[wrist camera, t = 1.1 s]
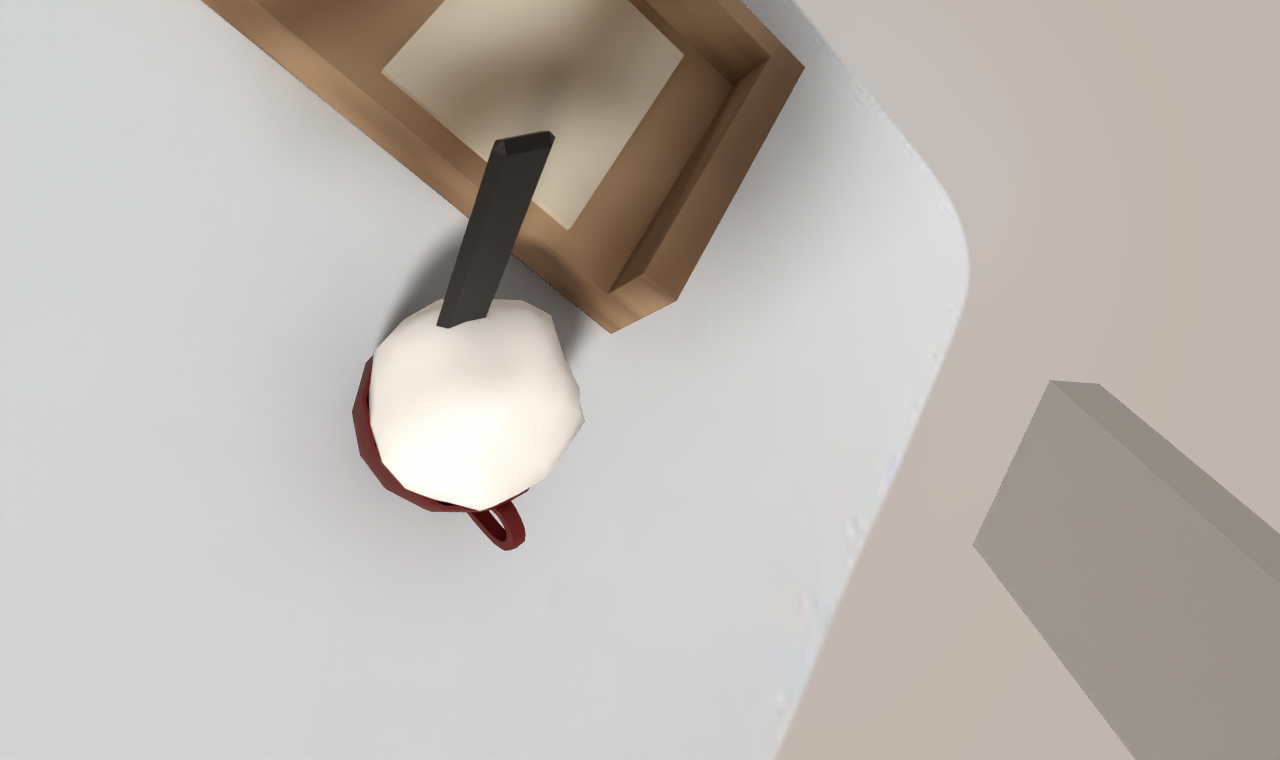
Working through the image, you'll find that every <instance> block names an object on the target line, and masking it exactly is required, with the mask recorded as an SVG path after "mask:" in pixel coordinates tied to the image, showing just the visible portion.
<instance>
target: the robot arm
mask: <svg viewBox="0 0 1280 760" xmlns="http://www.w3.org/2000/svg"><path fill="white" fill-rule="evenodd" d="M973 546H974V547H975V549H976V550H977V551H978V552H979V554H980V555H981V557H982V558H983V559H984V560H985V562H986V563H987V564H988V566H989V567H990V568H991V570H992V571H993V572H994V574H995V575H996V576H997V578H998V579H999V580H1000V581H1001V583H1002V584H1003V585H1004V587H1005V588H1006V589H1007V591H1008V592H1009V593H1010V595H1011V596H1012V597H1013V599H1014V600H1015V601H1016V603H1017V604H1018V605H1019V607H1020V608H1021V609H1022V611H1023V612H1024V613H1025V614H1026V616H1027V617H1028V618H1029V620H1030V621H1031V622H1032V624H1033V625H1034V626H1035V628H1036V629H1037V630H1038V631H1039V633H1040V634H1041V635H1042V637H1043V638H1044V639H1045V640H1046V642H1047V643H1048V645H1049V646H1050V647H1051V649H1052V650H1053V651H1054V652H1055V654H1056V655H1057V656H1058V658H1059V659H1060V660H1061V662H1062V663H1063V665H1064V666H1065V667H1066V668H1067V670H1068V671H1069V672H1070V674H1071V675H1072V676H1073V678H1074V679H1075V680H1076V682H1077V683H1078V684H1079V686H1080V687H1081V688H1082V690H1083V691H1084V692H1085V693H1086V695H1087V696H1088V697H1089V699H1090V700H1091V701H1092V703H1093V704H1094V705H1095V707H1096V708H1097V709H1098V710H1099V712H1100V713H1101V715H1102V716H1103V717H1104V719H1105V720H1106V721H1107V722H1108V724H1109V725H1110V726H1111V728H1112V729H1113V730H1114V732H1115V733H1116V734H1117V736H1118V737H1119V738H1120V740H1121V741H1122V742H1123V744H1124V745H1125V746H1126V747H1127V748H1128V750H1129V751H1130V753H1131V754H1132V755H1133V757H1134V758H1135V759H1136V760H1280V534H1279V533H1278V532H1277V531H1276V530H1274V529H1273V528H1272V527H1271V526H1270V525H1268V524H1267V523H1266V522H1265V521H1263V520H1262V519H1261V518H1260V517H1259V516H1257V515H1256V514H1255V513H1254V512H1253V511H1251V510H1250V509H1249V508H1248V507H1247V506H1245V505H1244V504H1243V503H1242V502H1241V501H1239V500H1238V499H1237V498H1236V497H1235V496H1233V495H1232V494H1231V493H1230V492H1229V491H1227V490H1226V489H1225V488H1224V487H1222V486H1221V485H1220V484H1219V483H1218V482H1217V481H1215V480H1214V479H1213V478H1212V477H1211V476H1209V475H1208V474H1207V473H1206V472H1204V471H1203V470H1202V469H1201V468H1200V467H1198V466H1197V465H1196V464H1195V463H1193V462H1192V461H1191V460H1190V459H1189V458H1188V457H1186V456H1185V455H1184V454H1183V453H1182V452H1180V451H1179V450H1178V449H1177V448H1176V447H1174V446H1173V445H1172V444H1171V443H1170V442H1168V441H1167V440H1166V439H1165V438H1163V437H1162V436H1161V435H1160V434H1159V433H1158V432H1156V431H1155V430H1154V429H1153V428H1151V427H1150V426H1149V425H1148V424H1147V423H1145V422H1144V421H1143V420H1142V419H1141V418H1139V417H1138V416H1137V415H1136V414H1134V413H1133V412H1132V411H1131V410H1130V409H1129V408H1127V407H1126V406H1125V405H1124V404H1122V403H1121V402H1120V401H1119V400H1118V399H1117V398H1115V397H1114V396H1113V395H1112V394H1110V393H1109V392H1108V391H1106V389H1104V388H1103V387H1102V386H1101V385H1100V384H1093V383H1077V382H1065V381H1051V380H1050V381H1049V383H1048V385H1047V387H1046V390H1045V392H1044V394H1043V396H1042V398H1041V400H1040V402H1039V405H1038V407H1037V409H1036V411H1035V413H1034V415H1033V417H1032V420H1031V422H1030V424H1029V426H1028V428H1027V430H1026V432H1025V434H1024V437H1023V439H1022V441H1021V443H1020V445H1019V447H1018V449H1017V452H1016V454H1015V456H1014V458H1013V460H1012V462H1011V464H1010V467H1009V469H1008V471H1007V473H1006V475H1005V477H1004V479H1003V481H1002V484H1001V486H1000V488H999V490H998V492H997V494H996V496H995V499H994V501H993V503H992V505H991V507H990V509H989V511H988V513H987V516H986V518H985V520H984V522H983V524H982V526H981V529H980V531H979V533H978V535H977V537H976V539H975V541H974V543H973Z"/></svg>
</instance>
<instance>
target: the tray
mask: <svg viewBox="0 0 1280 760" xmlns="http://www.w3.org/2000/svg"><path fill="white" fill-rule="evenodd" d="M202 1H203V2H204V3H205V4H206V5H208V6H209V7H210V8H211V9H213V10H214V11H215V12H216V13H218V14H219V15H220V16H221V17H222V18H224V19H225V20H226V21H227V22H229V23H230V24H231V25H232V26H233V27H235V28H236V29H237V30H238V31H240V32H241V33H242V34H243V35H245V36H246V37H247V38H248V39H249V40H251V41H252V42H253V43H254V44H256V45H257V46H258V47H259V48H261V49H262V50H263V51H264V52H265V53H267V54H268V55H269V56H270V57H272V58H273V59H274V60H275V61H276V62H278V63H279V64H280V65H281V66H283V67H284V68H285V69H286V70H288V71H289V72H290V73H291V74H292V75H294V76H295V77H296V78H297V79H299V80H300V81H301V82H302V83H303V84H305V85H306V86H307V87H308V88H310V89H311V90H312V91H313V92H315V93H316V94H317V95H318V96H319V97H321V98H322V99H323V100H324V101H326V102H327V103H328V104H329V105H330V106H332V107H333V108H334V109H335V110H337V111H338V112H339V113H340V114H342V115H343V116H344V117H345V118H346V119H348V120H349V121H350V122H351V123H353V124H354V125H355V126H356V127H358V128H359V129H360V130H361V131H362V132H364V133H365V134H366V135H367V136H369V137H370V138H371V139H372V140H373V141H375V142H376V143H377V144H378V145H380V146H381V147H382V148H383V149H385V150H386V151H387V152H388V153H389V154H391V155H392V156H393V157H394V158H396V159H397V160H398V161H399V162H400V163H402V164H403V165H404V166H405V167H407V168H408V169H409V170H410V171H412V172H413V173H414V174H415V175H416V176H418V177H419V178H420V179H421V180H423V181H424V182H425V183H426V184H427V185H429V186H430V187H431V188H432V189H434V190H435V191H436V192H437V193H439V194H440V195H441V196H442V197H443V198H445V199H446V200H447V201H448V202H450V203H451V204H452V205H453V206H455V207H456V208H457V209H458V210H459V211H461V212H462V213H463V214H464V215H466V216H467V217H468V218H469V219H470V216H471V213H472V210H473V207H474V203H475V200H476V197H477V194H478V191H479V188H480V184H481V181H482V178H483V175H484V172H485V169H486V165H487V162H488V159H489V156H490V153H491V150H492V147H493V145H494V142H495V140H498V139H503V138H508V137H513V136H518V135H523V134H529V133H534V132H539V131H550V132H551V133H552V134H553V135H554V136H555V140H554V143H553V145H552V148H551V151H550V153H549V156H548V158H547V161H546V163H545V166H544V169H543V171H542V174H541V176H540V179H539V182H538V184H537V187H536V189H535V192H534V194H533V197H532V200H531V202H530V205H529V207H528V210H527V213H526V215H525V218H524V220H523V223H522V225H521V228H520V231H519V233H518V236H517V238H516V241H515V244H514V246H513V249H512V251H511V253H512V254H513V255H515V256H516V257H517V258H518V259H520V260H521V261H522V262H523V263H525V264H526V265H527V266H528V267H529V268H531V269H532V270H533V271H534V272H536V273H537V274H538V275H539V276H540V277H542V278H543V279H544V280H545V281H547V282H548V283H549V284H550V285H552V286H553V287H554V288H555V289H556V290H558V291H559V292H560V293H561V294H563V295H564V296H565V297H566V298H567V299H569V300H570V301H571V302H572V303H574V304H575V305H576V306H577V307H579V308H580V309H581V310H582V311H583V312H585V313H586V314H587V315H588V316H590V317H591V318H592V319H593V320H594V321H596V322H597V323H598V324H599V325H601V326H602V327H603V328H604V329H606V330H607V331H608V332H609V333H610V334H612V333H614V332H616V331H618V330H620V329H622V328H624V327H626V326H628V325H630V324H632V323H634V322H636V321H638V320H640V319H641V318H643V317H645V316H647V315H649V314H651V313H653V312H655V311H657V310H659V309H661V308H663V307H665V306H667V305H669V304H671V303H673V302H675V301H677V299H678V297H679V295H680V293H681V291H682V290H683V288H684V286H685V284H686V282H687V281H688V279H689V277H690V275H691V273H692V271H693V270H694V268H695V266H696V264H697V262H698V261H699V259H700V257H701V255H702V253H703V251H704V250H705V248H706V246H707V244H708V242H709V241H710V239H711V237H712V235H713V233H714V231H715V230H716V228H717V226H718V224H719V222H720V221H721V219H722V217H723V215H724V213H725V211H726V210H727V208H728V206H729V204H730V202H731V201H732V199H733V197H734V195H735V193H736V192H737V190H738V188H739V186H740V184H741V182H742V181H743V179H744V177H745V175H746V173H747V172H748V170H749V168H750V166H751V164H752V162H753V161H754V159H755V157H756V155H757V153H758V152H759V150H760V148H761V146H762V144H763V142H764V141H765V139H766V137H767V135H768V133H769V132H770V130H771V128H772V126H773V124H774V122H775V121H776V119H777V117H778V115H779V113H780V112H781V110H782V108H783V106H784V104H785V102H786V101H787V99H788V97H789V95H790V93H791V92H792V90H793V88H794V86H795V84H796V82H797V81H798V79H799V77H800V75H801V73H802V72H803V70H804V68H805V67H804V66H803V65H802V64H801V63H800V62H799V61H798V60H797V59H796V58H795V57H794V55H793V54H792V53H791V52H790V51H789V50H788V49H787V48H786V47H785V46H784V45H783V44H782V43H781V42H780V41H779V40H778V39H777V38H776V37H775V36H774V35H773V34H772V33H771V32H770V31H769V30H768V29H767V28H766V27H765V26H764V25H763V24H762V22H761V21H760V20H759V19H758V18H757V17H756V16H755V15H754V14H753V13H752V12H751V11H750V10H749V9H748V8H747V7H746V6H745V5H744V4H743V3H742V2H741V1H740V0H202Z"/></svg>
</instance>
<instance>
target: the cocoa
mask: <svg viewBox="0 0 1280 760" xmlns="http://www.w3.org/2000/svg"><path fill="white" fill-rule="evenodd" d="M554 140H555V136H554V135H553V134H552V133H551V132H550V131H539V132H534V133H529V134H523V135H518V136H513V137H508V138H503V139H498V140H495V142H494V145H493V147H492V150H491V153H490V156H489V159H488V162H487V165H486V169H485V172H484V175H483V178H482V181H481V184H480V188H479V191H478V194H477V197H476V200H475V203H474V207H473V210H472V213H471V216H470V219H469V222H468V226H467V229H466V232H465V235H464V238H463V241H462V245H461V248H460V251H459V254H458V257H457V261H456V264H455V267H454V270H453V273H452V276H451V280H450V283H449V286H448V289H447V292H446V295H445V299H439V300H437V301H435V302H434V303H432V304H430V305H428V306H427V307H425V308H423V309H421V310H420V311H418V312H416V313H414V314H413V315H411V316H409V317H407V318H406V319H404V320H403V321H402V322H401V323H400V324H399V325H398V326H397V327H396V328H395V330H394V331H393V332H392V333H391V334H390V335H389V336H388V337H387V338H386V339H385V340H384V341H383V342H382V344H381V345H380V346H379V347H378V348H377V349H376V350H375V351H374V355H373V356H372V357H371V358H370V359H369V360H368V361H367V362H366V364H365V368H364V371H363V375H362V378H361V382H360V385H359V389H358V393H357V396H356V400H355V403H354V407H353V410H352V415H353V421H354V426H355V431H356V436H357V441H358V447H359V452H360V456H361V457H362V458H363V460H364V461H365V462H366V464H367V465H368V466H369V468H370V469H371V470H372V472H373V473H374V474H375V476H376V477H377V478H378V480H379V481H380V482H381V484H382V485H383V486H384V487H385V488H386V489H387V490H389V491H391V492H393V493H395V494H397V495H398V496H400V497H402V498H404V499H406V500H408V501H410V502H412V503H414V504H416V505H418V506H420V507H421V508H423V509H426V510H429V511H431V512H467V513H468V514H469V516H470V517H471V518H472V520H473V521H474V522H475V523H476V525H477V526H478V527H479V528H480V529H481V530H482V531H483V532H484V534H485V535H486V536H487V537H488V538H489V539H490V540H491V541H492V542H493V543H494V544H495V545H497V546H498V547H500V548H501V549H503V550H504V551H507V550H512V549H515V548H517V547H518V546H519V545H521V544H522V543H523V542H524V541H525V535H526V534H525V528H524V525H523V522H522V520H521V518H520V516H519V514H518V512H517V510H516V508H515V506H514V505H513V503H512V502H511V500H513V499H515V498H516V497H518V496H520V495H522V494H523V493H525V492H527V491H528V490H529V488H530V487H531V486H533V485H534V484H536V483H538V482H539V481H541V480H543V479H544V478H546V476H547V475H548V474H549V472H550V471H551V470H552V468H553V467H554V466H555V464H556V463H557V462H558V460H559V459H560V458H561V456H562V455H563V454H564V452H565V450H566V449H567V447H568V446H569V444H570V443H571V441H572V440H573V438H574V437H575V435H576V434H577V432H578V431H579V429H580V428H581V426H582V425H583V423H584V422H585V420H584V416H583V413H582V409H581V405H580V402H579V386H578V384H577V382H576V380H575V378H574V376H573V374H572V372H571V370H570V368H569V366H568V364H567V363H566V361H565V358H564V355H563V352H562V349H561V346H560V343H559V339H558V336H557V333H556V330H555V327H554V323H553V320H552V317H551V315H550V314H548V313H546V312H544V311H542V310H540V309H538V308H536V307H535V306H533V305H531V304H529V303H527V302H525V301H523V300H504V299H493V298H494V295H495V293H496V290H497V287H498V285H499V282H500V280H501V277H502V275H503V272H504V269H505V267H506V264H507V262H508V259H509V256H510V254H511V251H512V249H513V246H514V244H515V241H516V238H517V236H518V233H519V231H520V228H521V225H522V223H523V220H524V218H525V215H526V213H527V210H528V207H529V205H530V202H531V200H532V197H533V194H534V192H535V189H536V187H537V184H538V182H539V179H540V176H541V174H542V171H543V169H544V166H545V163H546V161H547V158H548V156H549V153H550V151H551V148H552V145H553V143H554ZM489 510H492V511H493V512H494V513H495V514H496V515H497V516H498V518H499V519H500V521H501V522H502V524H503V525H504V528H505V529H504V528H503V527H502V526H501V525H500V524H499V523H498V522H497V521H496V519H495V518H494V517H493V516H492V514H491V513H490V512H489Z"/></svg>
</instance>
